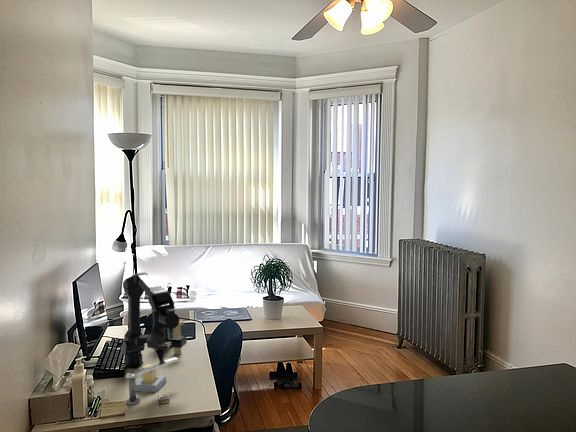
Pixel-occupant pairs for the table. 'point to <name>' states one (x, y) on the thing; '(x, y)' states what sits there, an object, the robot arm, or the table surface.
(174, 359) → the silver metal plank
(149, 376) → the plug
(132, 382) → the post
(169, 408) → the table surface
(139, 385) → the socket
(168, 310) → the robot arm
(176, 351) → the handle
